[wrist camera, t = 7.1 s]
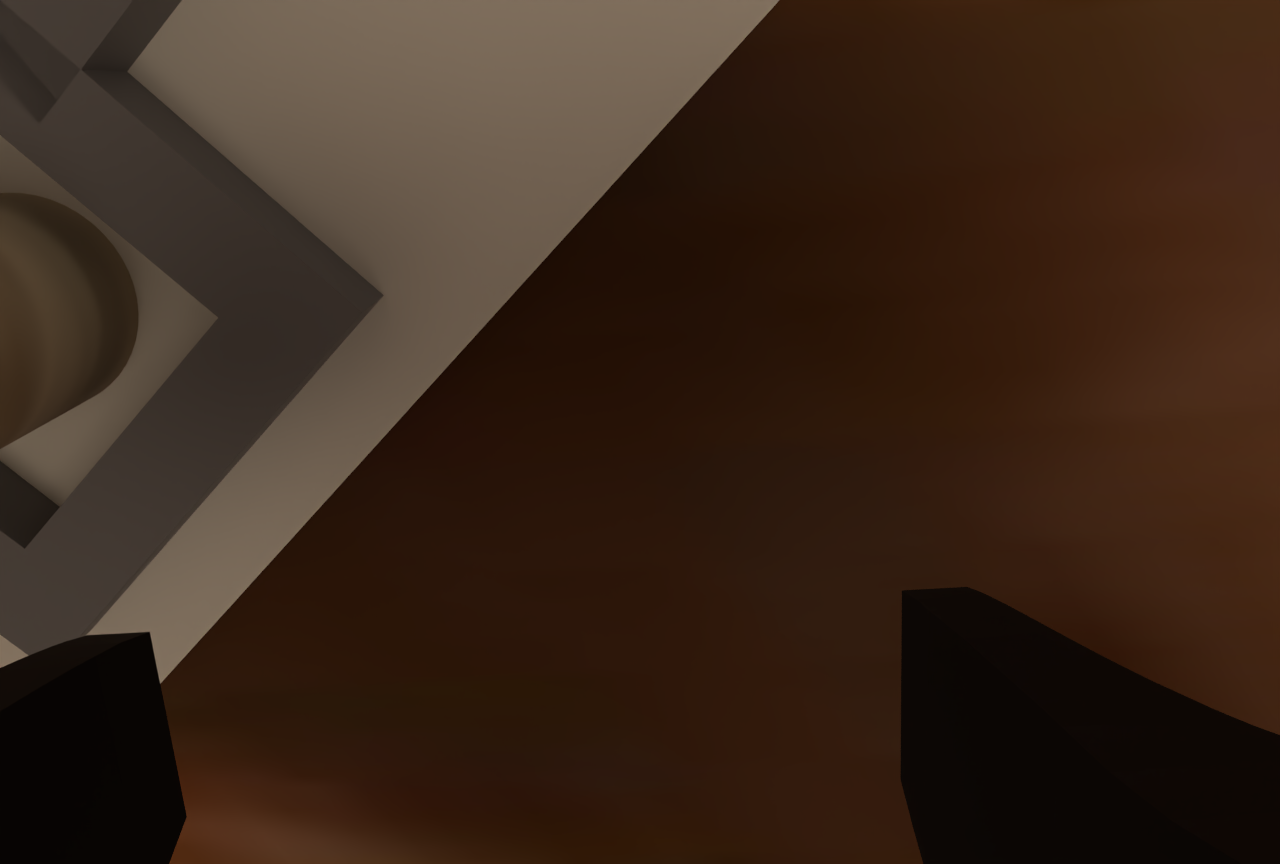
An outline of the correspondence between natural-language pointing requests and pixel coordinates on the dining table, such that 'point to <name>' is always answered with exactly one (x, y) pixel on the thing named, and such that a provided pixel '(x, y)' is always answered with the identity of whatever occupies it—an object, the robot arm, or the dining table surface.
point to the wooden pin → (57, 312)
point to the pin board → (291, 253)
